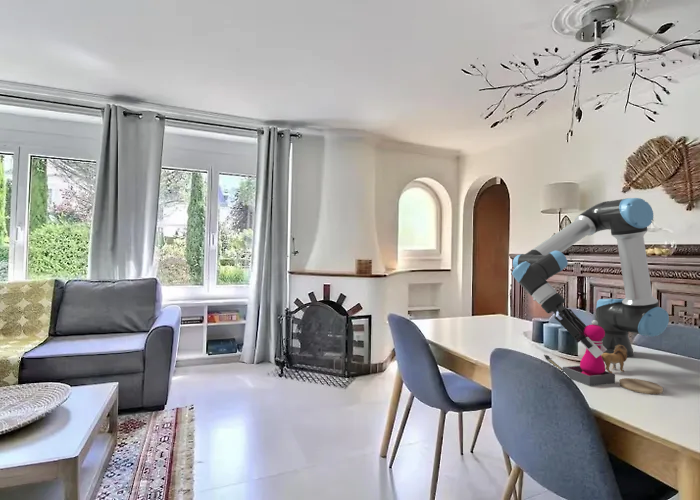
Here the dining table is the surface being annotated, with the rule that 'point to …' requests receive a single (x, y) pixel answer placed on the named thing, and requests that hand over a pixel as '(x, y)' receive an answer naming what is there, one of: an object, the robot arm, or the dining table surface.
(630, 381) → the cork coaster
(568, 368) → the dark gray square tray
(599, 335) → the pepper mill
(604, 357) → the lion figurine
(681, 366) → the dining table surface
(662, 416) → the dining table surface
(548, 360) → the paintbrush
